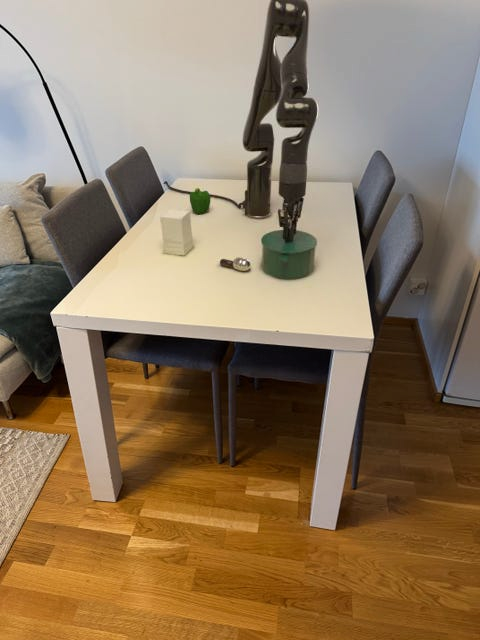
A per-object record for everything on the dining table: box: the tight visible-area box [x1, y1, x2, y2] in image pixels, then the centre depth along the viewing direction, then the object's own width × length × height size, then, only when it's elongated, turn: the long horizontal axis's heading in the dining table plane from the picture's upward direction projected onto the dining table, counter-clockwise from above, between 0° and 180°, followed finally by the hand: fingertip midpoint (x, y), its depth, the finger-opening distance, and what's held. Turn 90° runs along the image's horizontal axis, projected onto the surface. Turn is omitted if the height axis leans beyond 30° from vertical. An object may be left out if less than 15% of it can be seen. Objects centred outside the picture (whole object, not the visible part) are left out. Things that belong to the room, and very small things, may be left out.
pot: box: [261, 244, 316, 280], centre depth 135 cm, size 16×21×8 cm
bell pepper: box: [189, 187, 211, 215], centre depth 176 cm, size 8×8×10 cm
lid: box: [260, 223, 318, 254], centre depth 132 cm, size 17×17×6 cm
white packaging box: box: [159, 208, 194, 256], centre depth 145 cm, size 7×7×13 cm
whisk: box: [219, 256, 251, 272], centre depth 136 cm, size 10×4×4 cm, turn 62°
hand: (289, 236), depth 132 cm, fingers open, 3 cm apart
